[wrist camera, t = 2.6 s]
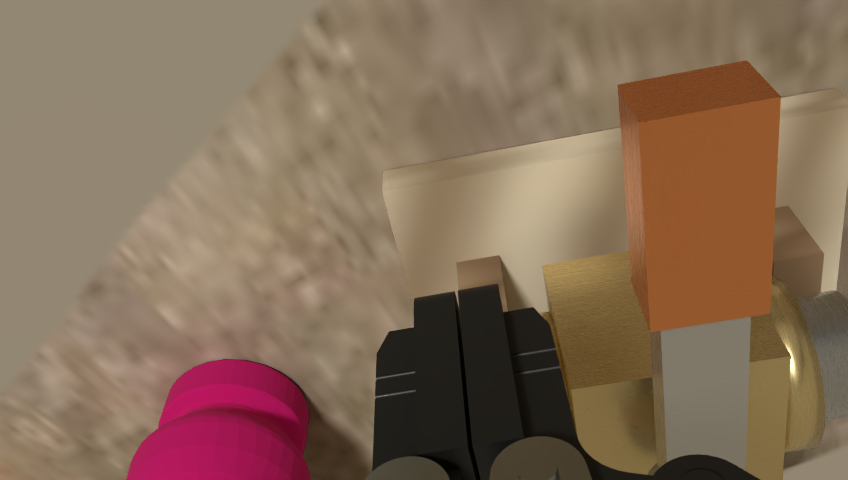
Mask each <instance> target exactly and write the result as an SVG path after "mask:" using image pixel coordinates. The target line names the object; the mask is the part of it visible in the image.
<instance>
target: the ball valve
mask: <svg viewBox="0 0 848 480" xmlns="http://www.w3.org/2000/svg"><path fill="white" fill-rule="evenodd" d="M542 269H543V276H544V282H545V289H546V296H547V303H548V310H549V311H547V312H541V313H539V314H540V315H541V316H542V317H543V318H544V319H545V320H546V321H547V322H548V323H549V324H550V327H551V331H552V335H553V339H554V343H555V348H556V351H557V356H558V360H559V364H560V369H561V372H562V376H563V380H564V385H565V389H566V393H567V397H568V401H569V405H570V409H571V414H572V418H573V422H574V426H575V430H576V434H577V437H578V440H579V442H580V444H581V446H582V447H583V449H584V450H585V451H586V452H587V453H588V454H589V455H590V456H591V457H592V458H593V459H595V460H596V461H598V462H599V463H601V464H603V465H605V466H607V467H610V468H612V469H616V470H619V471H624V472H630V473H637V474H645V475H647V474H648V472H649V470H650V469H651V468H652V467H653V466H654V465H655V464H656V463H657V451H656V433H655V416H654V398H653V381H652V363H651V346H650V331H649V328H648V325H647V323H646V320H645V318H644V315H643V312H642V310H641V307H640V304H639V302H638V299H637V297H636V294H635V291H634V289H633V286H632V282H631V268H630V254H629V251H623V252H617V253H611V254H605V255H599V256H593V257H587V258H581V259H575V260H569V261H563V262H557V263H551V264H546V265H542ZM843 417H848V300H847V299H846V298H845V297H844V296H843V295H842V294H841V293H839V292H837V291H834V290H831V291H824V292H818V293H812V294H806V295H799V296H794V295H793V294H792V292H791V291H790V289H789V288H788V286H787V285H786V284H785V283H784V282H783V281H782V280H781V279H779V278H778V277H776V276H774V275H772V285H771V304H770V314H764V315H758V316H751V329H750V359H749V389H748V419H747V449H746V471H747V472H748V473H750V474H752V475H753V476H755V477H757V478H759V479H760V480H782V479H783V465H784V453H787V452H794V451H801V450H808V449H813V448H816V447H817V446H818V445H819V443H820V441H821V439H822V436H823V432H824V426H825V420H829V419H836V418H843Z"/></svg>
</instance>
